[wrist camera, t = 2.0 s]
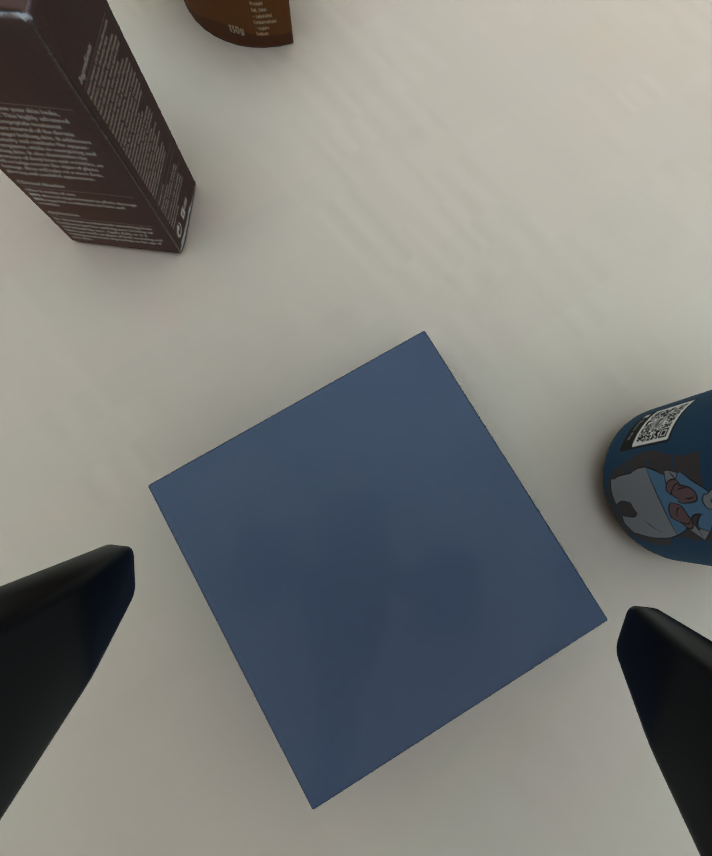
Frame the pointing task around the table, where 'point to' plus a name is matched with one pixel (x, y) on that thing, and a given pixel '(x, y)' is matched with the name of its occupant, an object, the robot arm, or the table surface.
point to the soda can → (665, 479)
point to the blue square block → (373, 564)
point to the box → (87, 128)
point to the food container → (245, 20)
